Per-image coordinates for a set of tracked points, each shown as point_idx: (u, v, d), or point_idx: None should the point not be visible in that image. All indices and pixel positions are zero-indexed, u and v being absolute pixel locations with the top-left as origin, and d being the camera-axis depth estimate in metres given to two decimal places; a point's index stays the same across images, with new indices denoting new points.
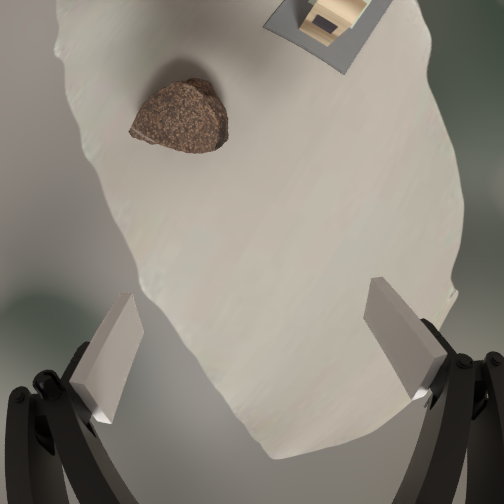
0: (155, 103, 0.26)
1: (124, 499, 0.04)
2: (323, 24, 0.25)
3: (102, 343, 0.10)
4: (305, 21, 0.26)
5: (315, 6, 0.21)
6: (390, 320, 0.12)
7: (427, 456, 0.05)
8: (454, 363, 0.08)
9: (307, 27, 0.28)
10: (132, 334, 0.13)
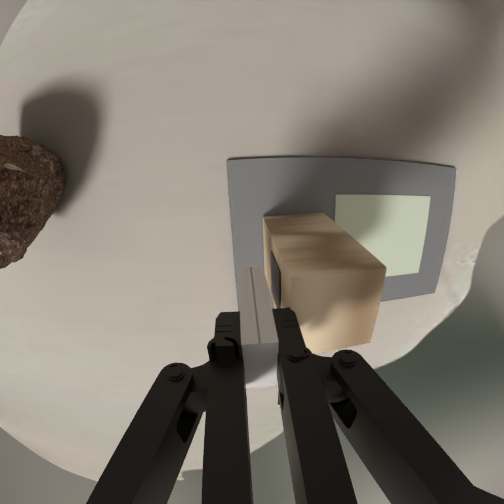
0: None
1: (250, 485, 0.05)
2: (275, 279, 0.17)
3: (254, 308, 0.12)
4: (270, 235, 0.18)
5: (286, 272, 0.13)
6: None
7: (298, 466, 0.06)
8: (285, 359, 0.09)
9: (267, 237, 0.20)
10: None
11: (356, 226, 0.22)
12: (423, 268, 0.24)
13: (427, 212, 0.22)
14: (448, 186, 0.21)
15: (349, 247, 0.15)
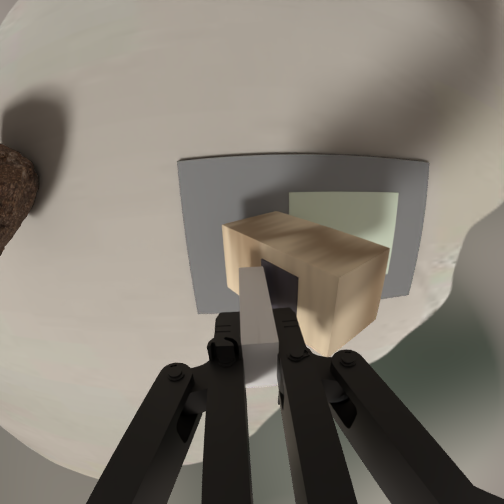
0: None
1: (250, 485, 0.05)
2: (275, 287, 0.16)
3: (254, 308, 0.12)
4: (253, 242, 0.16)
5: (321, 274, 0.12)
6: None
7: (298, 466, 0.06)
8: (285, 359, 0.09)
9: (241, 246, 0.18)
10: None
11: None
12: (394, 269, 0.24)
13: (395, 210, 0.22)
14: (420, 181, 0.21)
15: (343, 238, 0.16)
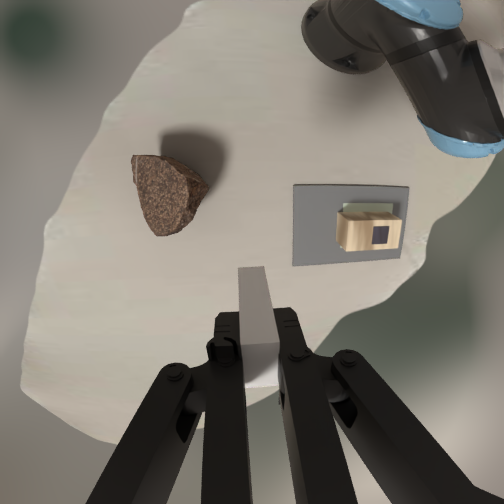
0: (162, 168, 0.32)
1: (250, 485, 0.05)
2: (378, 234, 0.41)
3: (254, 308, 0.12)
4: (369, 221, 0.40)
5: (397, 221, 0.40)
6: None
7: (298, 466, 0.06)
8: (286, 359, 0.09)
9: (361, 226, 0.40)
10: None
11: None
12: None
13: (391, 212, 0.44)
14: (404, 197, 0.43)
15: (377, 213, 0.43)
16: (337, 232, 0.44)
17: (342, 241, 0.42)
